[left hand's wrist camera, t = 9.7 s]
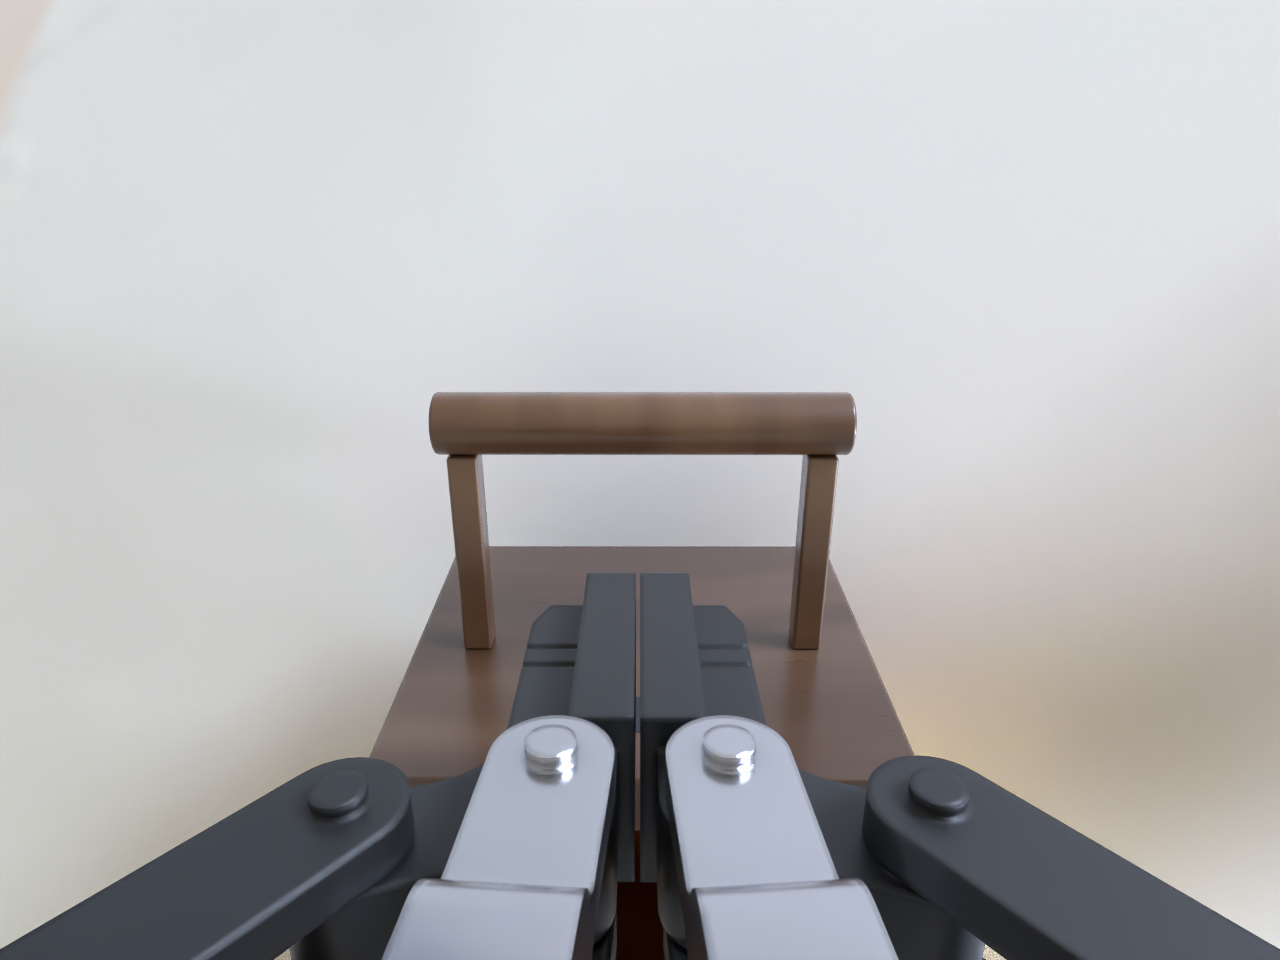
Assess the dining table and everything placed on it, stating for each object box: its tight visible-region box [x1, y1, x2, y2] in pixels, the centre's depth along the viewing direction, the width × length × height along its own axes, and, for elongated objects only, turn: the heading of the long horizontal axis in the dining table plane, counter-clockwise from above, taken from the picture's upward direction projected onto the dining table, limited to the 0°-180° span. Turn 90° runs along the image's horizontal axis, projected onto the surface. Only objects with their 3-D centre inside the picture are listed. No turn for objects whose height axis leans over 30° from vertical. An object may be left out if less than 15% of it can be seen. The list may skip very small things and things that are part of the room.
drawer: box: [370, 392, 915, 960], centre depth 21 cm, size 24×10×9 cm, turn 0°
